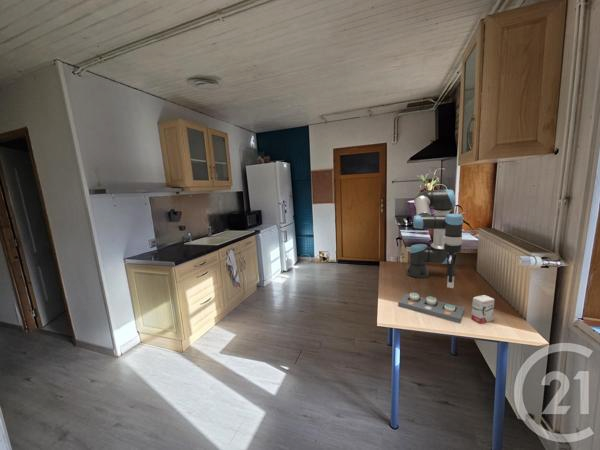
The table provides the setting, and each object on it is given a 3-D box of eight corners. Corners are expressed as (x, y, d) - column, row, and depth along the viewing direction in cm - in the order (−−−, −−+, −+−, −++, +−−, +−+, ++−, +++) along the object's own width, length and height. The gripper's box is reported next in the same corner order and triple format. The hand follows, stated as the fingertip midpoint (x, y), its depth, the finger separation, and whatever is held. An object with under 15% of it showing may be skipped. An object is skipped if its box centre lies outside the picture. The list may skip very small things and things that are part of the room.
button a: (411, 296, 145) (411, 291, 145) (419, 298, 142) (419, 293, 142) (408, 299, 142) (408, 294, 141) (417, 302, 139) (417, 296, 138)
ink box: (480, 324, 119) (481, 301, 117) (470, 319, 123) (472, 297, 122) (493, 320, 121) (495, 298, 119) (483, 315, 126) (485, 294, 124)
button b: (427, 300, 139) (427, 295, 139) (436, 303, 136) (437, 297, 136) (425, 304, 136) (425, 298, 135) (434, 306, 133) (435, 300, 132)
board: (406, 297, 150) (406, 293, 149) (464, 311, 130) (464, 307, 130) (398, 306, 139) (398, 301, 139) (460, 323, 120) (460, 318, 120)
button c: (445, 308, 134) (445, 302, 133) (455, 311, 131) (455, 305, 130) (443, 312, 130) (443, 306, 130) (453, 315, 127) (454, 308, 127)
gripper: (446, 240, 132) (444, 281, 136) (441, 245, 122) (439, 289, 126) (463, 242, 127) (460, 284, 131) (459, 247, 118) (456, 293, 121)
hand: (450, 287), depth 129 cm, fingers closed
